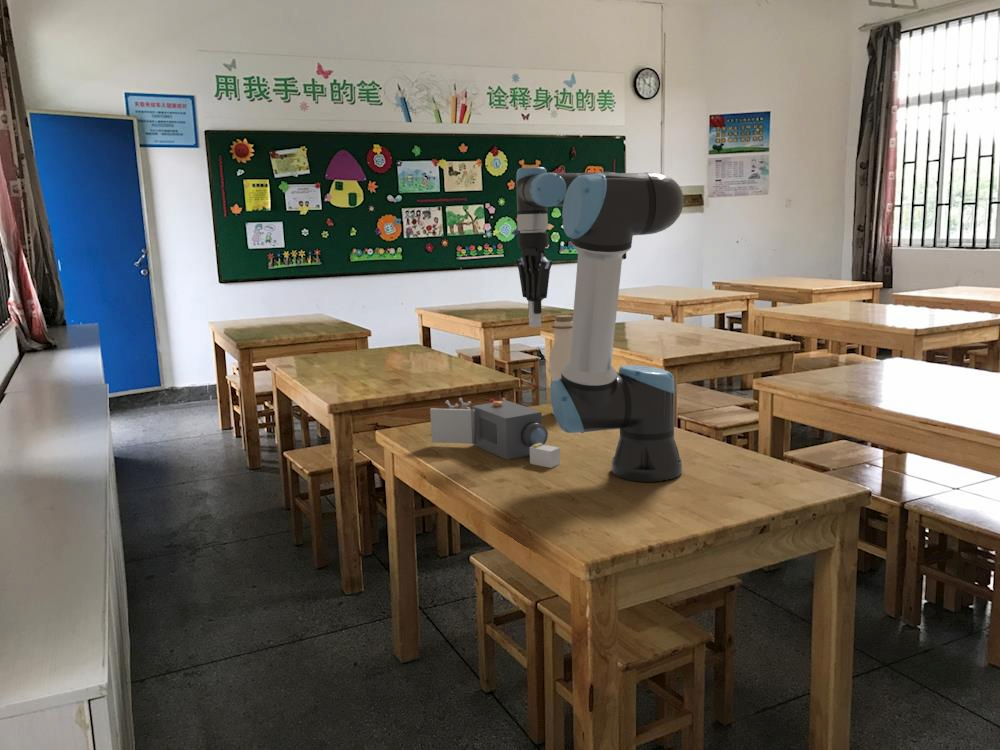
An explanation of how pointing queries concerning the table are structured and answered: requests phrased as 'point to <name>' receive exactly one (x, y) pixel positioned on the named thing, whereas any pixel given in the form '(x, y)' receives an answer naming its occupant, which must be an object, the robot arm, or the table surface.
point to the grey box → (508, 429)
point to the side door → (453, 425)
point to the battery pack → (544, 455)
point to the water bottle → (560, 345)
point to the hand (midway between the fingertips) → (535, 326)
